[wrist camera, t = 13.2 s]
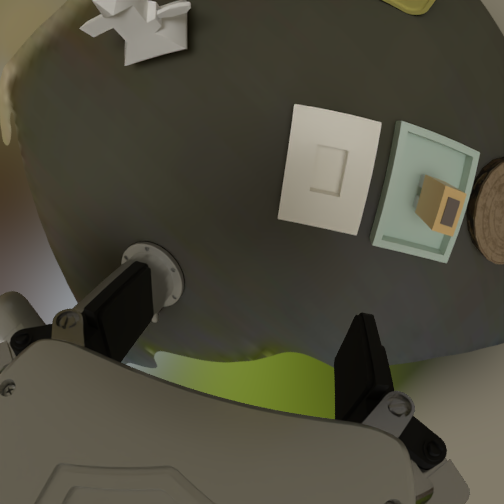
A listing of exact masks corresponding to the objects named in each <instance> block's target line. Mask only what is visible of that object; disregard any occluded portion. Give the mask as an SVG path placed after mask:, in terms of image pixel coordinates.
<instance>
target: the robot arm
mask: <svg viewBox="0 0 504 504" xmlns="http://www.w3.org/2000/svg"><path fill="white" fill-rule="evenodd" d="M183 290H184V278H183V274H182V271H181V269H180V267H179V265H178V263H177V262H176V260H175V259H174V258H173V257H172V256H171V255H170V254H169V253H168V252H167V251H166V250H165V249H163V248H162V247H160V246H158V245H156V244H154V243H150V242H137V243H135V244H132V245H131V246H130V247H128V248H127V249H126V251H125V252H124V254H123V256H122V260H121V266H120V267H119V268H117V269H116V270H115V271H114V272H113V273H111V274H110V275H109V276H108V277H107V278H106V279H105V280H103V281H102V282H101V283H100V284H99V285H98V286H97V287H95V288H94V289H93V290H92V291H91V292H90V293H89V294H88V295H87V296H85V297H84V298H83V299H82V300H81V301H80V302H79V303H78V304H77V305H76V306H75V307H74V308H73V309H66V310H62V311H60V312H59V313H57V314H56V315H55V317H54V318H53V323H52V324H48V325H46V324H45V323H44V322H43V320H42V319H41V318H40V316H39V315H38V314H37V312H36V311H35V310H34V308H33V307H32V306H31V304H30V303H29V302H28V300H27V299H26V298H25V297H24V296H23V295H22V294H20V293H18V292H15V291H10V292H6V293H4V294H2V295H1V296H0V504H465V503H466V502H467V500H468V498H469V495H470V492H469V488H468V485H467V484H466V483H465V481H464V479H463V478H462V476H461V475H460V473H459V472H458V470H457V469H456V467H455V466H454V464H453V463H452V461H451V460H450V459H449V460H448V461H447V460H446V458H445V457H446V452H447V449H446V445H445V443H444V441H443V440H442V439H441V438H439V437H438V436H437V435H436V434H434V433H433V432H432V431H431V430H430V429H428V428H427V427H426V426H425V425H424V424H422V423H421V422H420V421H419V420H418V419H416V418H415V417H414V416H413V414H414V412H415V406H414V403H413V401H412V399H411V398H410V397H409V396H408V395H407V394H405V393H403V392H400V391H394V387H393V382H392V377H391V372H390V368H389V364H388V359H387V355H386V351H385V348H384V346H382V345H381V342H380V338H379V334H378V330H377V326H376V322H375V319H374V316H373V315H372V314H366V313H360V314H359V315H356V316H355V317H354V319H353V321H352V324H351V326H350V328H349V330H348V332H347V335H346V337H345V339H344V341H343V343H342V345H341V347H340V349H339V351H338V353H337V355H336V357H335V361H334V374H335V419H327V418H320V417H313V416H307V415H301V414H294V413H289V412H283V411H277V410H272V409H267V408H262V407H258V406H253V405H249V404H245V403H240V402H236V401H232V400H229V399H225V398H221V397H217V396H213V395H210V394H207V393H203V392H200V391H197V390H194V389H190V388H187V387H184V386H181V385H178V384H175V383H172V382H169V381H166V380H164V379H161V378H158V377H155V376H153V375H150V374H147V373H145V372H142V371H140V370H137V369H135V368H131V367H130V366H127V365H125V364H123V363H121V361H122V360H123V358H124V357H125V356H126V354H127V353H128V351H129V350H130V349H131V347H132V346H133V345H134V343H135V342H136V340H137V339H138V338H139V336H140V335H141V334H142V332H143V331H144V330H145V328H146V327H147V326H148V324H149V323H150V322H151V320H152V322H158V321H159V317H158V312H159V311H160V310H161V308H162V307H166V306H170V305H172V304H174V303H175V302H177V301H178V299H179V298H180V297H181V295H182V293H183Z"/></svg>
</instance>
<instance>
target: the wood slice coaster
mask: <svg viewBox="0 0 504 504" xmlns="http://www.w3.org/2000/svg"><path fill="white" fill-rule="evenodd" d="M467 224H468V231H469V234H470V236H471V239H472V242H473V243H474V245H475V246H476V247H477V248H478V250H479V251H480V252H481V253H482V254H483V255H484V256H485V257H486V258H487V259H488V260H490V261H492V262H494V263H495V264H504V157H502V158H498V159H494V160H492V161H491V162H490V163H488V164H487V165H486V166H485V167H483V168H482V170H481V171H480V173H479V174H478V176H477V178H476V179H475V181H474V183H473V186H472V190H471V194H470V197H469V201H468V207H467Z"/></svg>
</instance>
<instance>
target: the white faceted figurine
mask: <svg viewBox="0 0 504 504" xmlns="http://www.w3.org/2000/svg"><path fill="white" fill-rule="evenodd" d="M92 1H93V3H94V4H95V5H96V7H97V8H98V10H99V11H100V13H101V14H100V15H98V16H97V17H95V18H93V19H91V20H89V21H87V22H86V23H85V24H84V25H83V26H82V27H80V28H79V29H81V30H82V31H84V32H86V33H87V34H89V35H91V36H92V37H95V36H97V35H99V34H101V33H103V32H105V31H107V30H109V29H112V28H114V29H115V30H116V31H117V32H118V33H119V34H120V35H121V36H122V37H123V39H124V40H125V66H127V65H130V64H134V63H137V62H141V61H144V60H148V59H151V58H154V57H158V56H161V55H165V54H169V53H173V52H177V51H181V50H186V49H188V46H187V11H188V10H189V9H190V8H191V3H190V2H186V0H179V1H176V2H172V3H169V4H166V5H163V6H160V7H159V5H158V4H157V3H156V2H153V1H148V0H92Z"/></svg>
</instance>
